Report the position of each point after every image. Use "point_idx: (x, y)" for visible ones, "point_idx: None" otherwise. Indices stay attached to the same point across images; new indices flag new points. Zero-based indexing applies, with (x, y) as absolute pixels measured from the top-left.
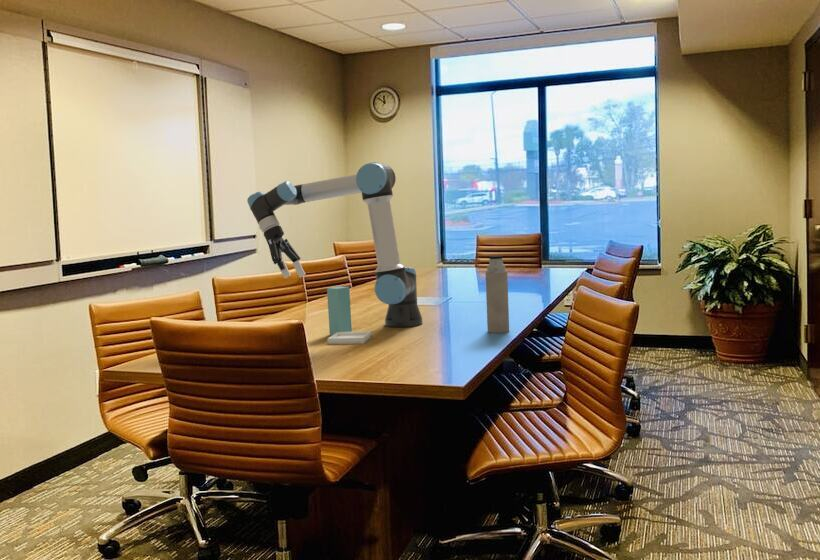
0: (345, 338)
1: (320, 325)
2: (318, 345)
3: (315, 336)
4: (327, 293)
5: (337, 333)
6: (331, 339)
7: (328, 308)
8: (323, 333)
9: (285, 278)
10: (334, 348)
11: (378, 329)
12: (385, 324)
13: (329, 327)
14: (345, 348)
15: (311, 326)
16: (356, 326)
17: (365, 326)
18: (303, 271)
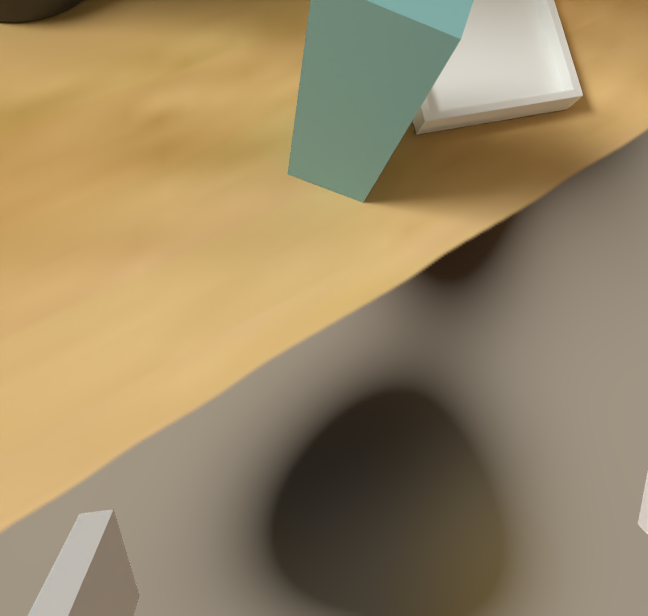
0: (558, 18)
1: (80, 408)
2: (598, 138)
3: (415, 255)
4: (442, 69)
5: (444, 112)
6: (575, 80)
7: (402, 134)
8: (332, 254)
9: (643, 520)
10: (632, 46)
11: (182, 13)
12: (65, 5)
13: (372, 186)
14: (621, 3)
15: (122, 449)
16: (99, 165)
17: (95, 114)
18: (94, 557)
